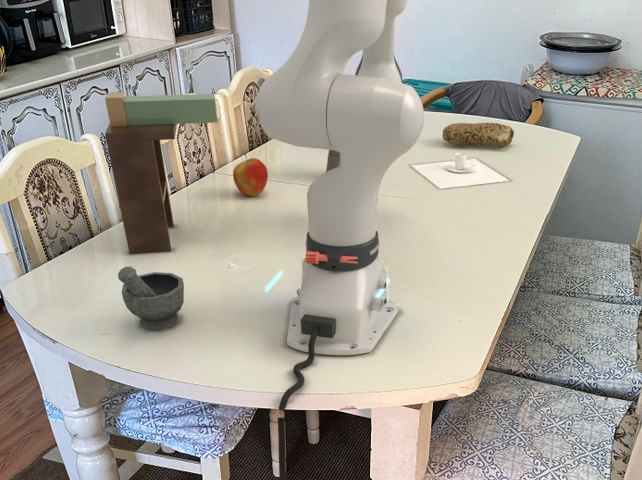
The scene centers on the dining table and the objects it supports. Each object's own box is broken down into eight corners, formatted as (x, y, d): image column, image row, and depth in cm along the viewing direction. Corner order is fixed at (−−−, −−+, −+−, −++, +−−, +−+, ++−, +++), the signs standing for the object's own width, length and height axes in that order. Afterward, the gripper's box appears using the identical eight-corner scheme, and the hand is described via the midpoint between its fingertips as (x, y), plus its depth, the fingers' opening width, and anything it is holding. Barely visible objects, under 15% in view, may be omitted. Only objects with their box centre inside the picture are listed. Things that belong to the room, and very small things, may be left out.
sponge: (511, 146, 214) (450, 126, 217) (518, 123, 208) (456, 102, 212) (499, 166, 205) (436, 144, 208) (506, 142, 199) (441, 120, 203)
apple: (259, 202, 166) (255, 160, 161) (229, 197, 168) (224, 156, 163) (275, 191, 173) (272, 151, 167) (246, 187, 175) (242, 147, 169)
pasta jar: (217, 116, 139) (214, 89, 136) (217, 123, 135) (214, 95, 132) (113, 119, 135) (108, 91, 132) (110, 126, 131) (104, 98, 128)
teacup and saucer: (481, 173, 188) (482, 158, 186) (454, 176, 185) (455, 160, 183) (467, 163, 195) (468, 149, 193) (441, 166, 192) (441, 151, 190)
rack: (192, 224, 154) (176, 112, 141) (191, 250, 142) (173, 130, 130) (135, 227, 151) (113, 114, 139) (129, 254, 140) (104, 133, 127)
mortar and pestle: (155, 303, 123) (143, 240, 117) (200, 314, 120) (190, 249, 114) (111, 333, 114) (95, 266, 108) (158, 345, 111) (144, 277, 105)
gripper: (323, 93, 149) (263, 60, 143) (337, 118, 132) (270, 81, 126) (309, 120, 151) (250, 88, 145) (322, 148, 134) (255, 113, 128)
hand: (259, 85), depth 135 cm, fingers open, 8 cm apart
